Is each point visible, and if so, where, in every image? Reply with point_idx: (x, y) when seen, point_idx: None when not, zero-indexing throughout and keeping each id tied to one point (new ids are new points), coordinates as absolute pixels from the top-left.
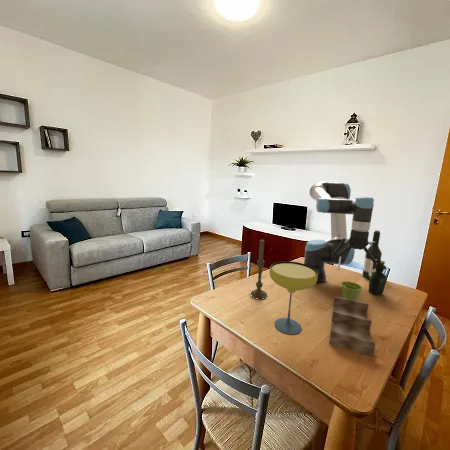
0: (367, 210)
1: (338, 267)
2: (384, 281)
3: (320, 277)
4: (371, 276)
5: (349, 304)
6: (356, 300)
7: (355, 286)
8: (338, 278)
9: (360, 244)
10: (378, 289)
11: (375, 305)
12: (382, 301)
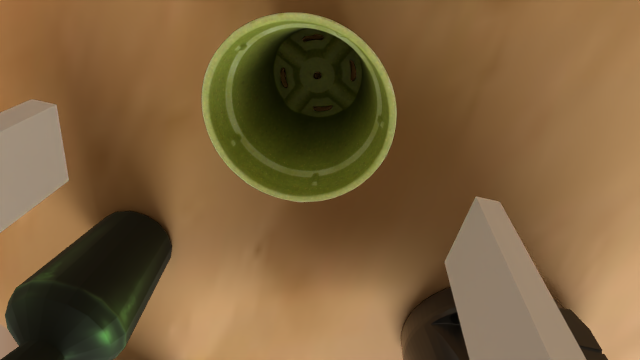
0: None
1: (509, 230)
2: (35, 275)
3: (455, 323)
4: (112, 313)
5: None
6: (269, 50)
7: (255, 159)
8: (318, 354)
9: None
10: (105, 231)
11: (148, 68)
12: (105, 139)
